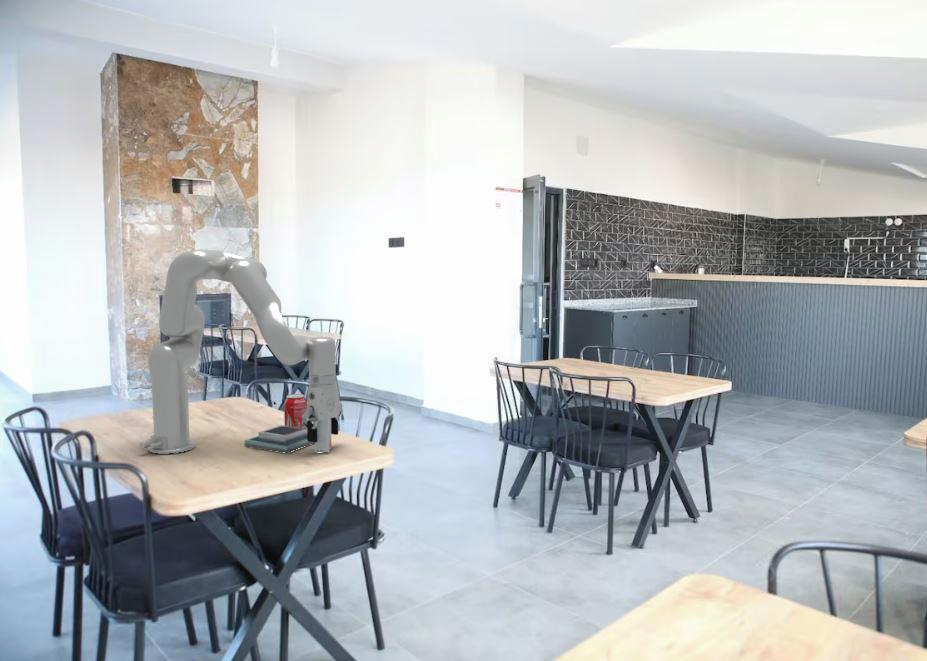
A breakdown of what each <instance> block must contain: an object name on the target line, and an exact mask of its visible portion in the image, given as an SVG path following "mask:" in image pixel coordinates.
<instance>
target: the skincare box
mask: <svg viewBox="0 0 927 661" xmlns="http://www.w3.org/2000/svg"><path fill="white" fill-rule="evenodd" d="M314 418H315V415H314ZM316 428H317V438H318V441H317V442H316V443H315V444H314V453H315V452H329V453H330V451H331V449H332V434H331V419H330V418H329V412H328V413H327V420H325V421H319V422H318V424H317V426H316Z"/></svg>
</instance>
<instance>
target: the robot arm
mask: <svg viewBox="0 0 927 661" xmlns="http://www.w3.org/2000/svg"><path fill="white" fill-rule="evenodd" d="M168 266H169V267H168V269H167V275H166V280H165V285H164V291H163V292H164V293H163V296H162V302H161V307H160V312H159V318H158V327H159V328H158V329H159V330H160V331H161V333H162V334H163V335H164V336H166V337H169V340H165V341H163V342H160V343H158V344H156V345H155V346H153V348H152V349H151V350H150V352H149V353H148V357H147V366H148V372H149V375H150V380H151V381H150V382H151V394H152V415H153V416H152V418H153V420H152V422H153V435H150V439H148V441H146V440H145V441H142V442H139V449H140V450H145V449H148V452H149V451H150V453H151V452H152V454H155V453H158V454H157V455H170V454H169V453H174V454H180V453H179V452H181V453H184V451H185V452H188V450H189V451H191V450H193V449H195V448H196V441H195V440H191V439H190V412H189V411H190V410H189V409H190V407H189V388H188V387H189V386H188V380H187V376H186V372H185V370H187V369H189V368H191V367H193V366H194V365H195V364H196V363H197V361H198V359H199V356H200V354H201V353H200V352H201V346H202V342H203V336H204V331H205V324H206V323H205V322H206V320H205V314H204V312H203V310H202V309H201V307H200V306H198V305H197V304H196V299H197V293H198V292H197V291H198V290H197V289H198V288H197V283H198V281H201V280H202V281H203V280H218V281H222V282H227V283H231V286H233V288H234V289H235V290H236V292H237V294H238V295H239V296H240V297H241V299H242V300H243V302H244V303H245V305H246V307H247V308H248V309H249V311H250V312H251V314H252V315H253V318H254V319H255V323H256V325H257V327H258V329H259V333H260V334H261V337H262V338H263V340H264V343H265V344H266V345H267V346H268V348H269V349H270V351H271V352H272V354H273V355H274V356H275V357H276V359H277V360H279V362H281V363H282V364H284V365H286V366H294V365H296V364H299V363H300V362H303V361H304V362H305V361H308V385H309V386H308V389H307V398H306V401H307V410H306V411H305V413H304V414H303V415H302V419H303V422H304V425H305V426H306V428H307V441H308V442H314V443H316V442H317V441H318V438H317V428H316V426H317V424H318V422H319V421H325V420H327V413H328V412H329V418H330V419H331V435H335V436H337V435H339V421H340V419H341V418H340V416H341V414H342V408H343V404H342V403H340V402H341V401H340V393H339V392H340V391H339V387H338V383H337V380H336V376H337V375H336V370H337V369H336V340H335V339H334V338H333V337H330V336H315V337H312V336H306V335H293V333H292V332H291V330H290V329H289V327H288V325H287V324H286V322H285V320H284V317H283V314H282V302H281V299H280V298H279V296H278V295H277V293H276V292H275V291H274V289H273V287H271V285H270V283H269V282H268V281H267V277H268V273H267V269H266V267H265V265H264V264H263V263H262V262H260V261H259V260H257V259H254V258H249V257H245V256H241V255H237V254H233V253H229V252H225V251H222V250H221V251H220V250H214V249H193V250H189V251H184V252H183V253H180V254H179V255H177V256H176V257H174V259H173V260H172V261H171V262H170V264H169V265H168ZM314 415H315V418H314Z"/></svg>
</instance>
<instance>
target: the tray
mask: <svg viewBox="0 0 927 661" xmlns="http://www.w3.org/2000/svg"><path fill="white" fill-rule="evenodd" d="M257 434H258V435H256V436H253V437H250V438H247V439H245V440H244V447H245V446H247V447H246V448H249V447H253V448H252V449H255V448H260V449H259V450H261V449H266V450H265V451H267V450H272V451H271V452H273V451H278V452H285V453H288V452H291V451H293V450H296V449H298V448H301V447H304V446H307V445H310V444H313V443H314V442H308V441H307V429H304V428H298V427H291V426H285V424H280V425H277V426H274V427H271V428H268V429H264V430H261V431H258V432H257ZM313 445H314V444H313ZM310 446H311V445H310ZM307 447H308V446H307ZM278 452H277V453H278ZM291 453H292V452H291ZM288 454H289V453H288Z"/></svg>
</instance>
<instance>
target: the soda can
mask: <svg viewBox="0 0 927 661" xmlns="http://www.w3.org/2000/svg"><path fill="white" fill-rule="evenodd" d="M283 405H284V406H283V407H284V409H283V410H284V414H283V415H284V426H291V427H298V428H304V429H307V428H306V426H305V425H304V422H303V419H302V415H303V414H304V413H305V411H306V410H307V398H306V397H305V394H302V393H294V394H293V393H292V394H287V395H286V398H285V400H284V404H283Z"/></svg>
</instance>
